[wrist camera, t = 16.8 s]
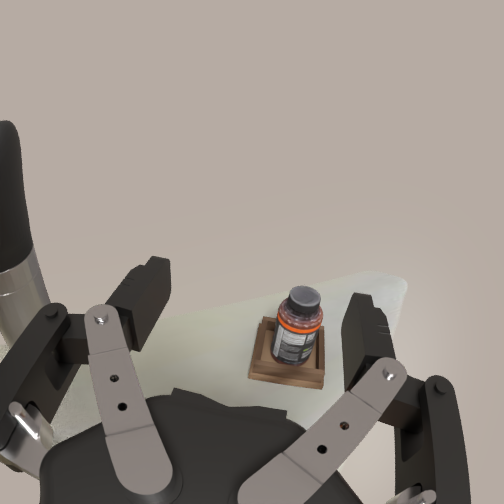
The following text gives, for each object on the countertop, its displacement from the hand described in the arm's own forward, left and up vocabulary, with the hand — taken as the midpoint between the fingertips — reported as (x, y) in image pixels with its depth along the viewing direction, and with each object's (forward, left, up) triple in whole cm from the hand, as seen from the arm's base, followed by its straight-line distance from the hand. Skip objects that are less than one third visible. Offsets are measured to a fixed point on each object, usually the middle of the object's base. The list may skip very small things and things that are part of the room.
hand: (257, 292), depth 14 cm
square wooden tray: (+5, +21, -28) cm, 35 cm away
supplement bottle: (+5, +21, -27) cm, 35 cm away
